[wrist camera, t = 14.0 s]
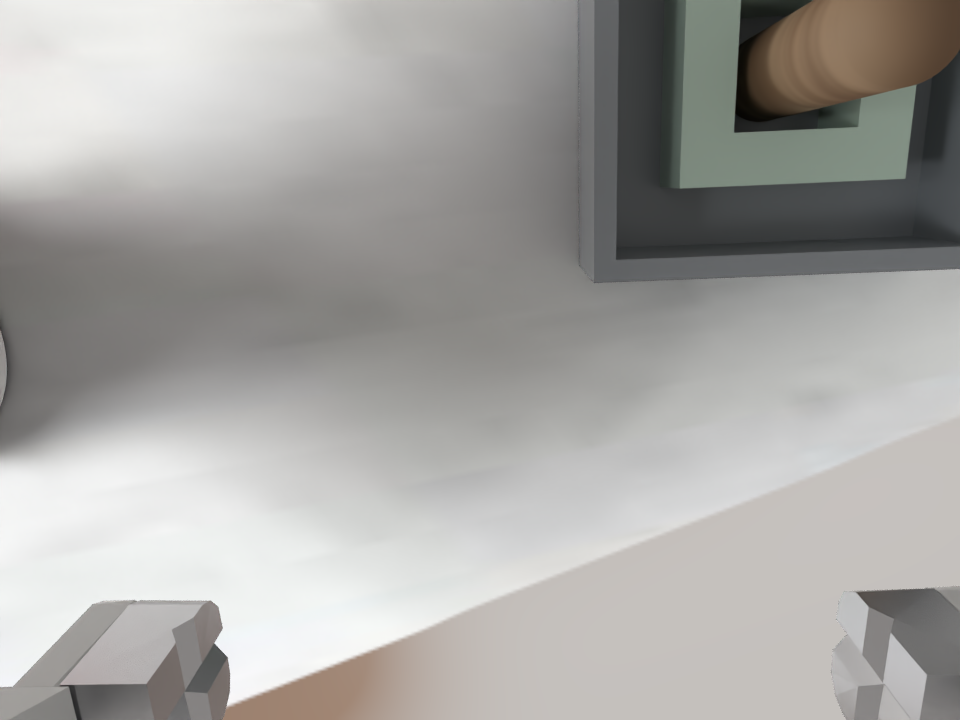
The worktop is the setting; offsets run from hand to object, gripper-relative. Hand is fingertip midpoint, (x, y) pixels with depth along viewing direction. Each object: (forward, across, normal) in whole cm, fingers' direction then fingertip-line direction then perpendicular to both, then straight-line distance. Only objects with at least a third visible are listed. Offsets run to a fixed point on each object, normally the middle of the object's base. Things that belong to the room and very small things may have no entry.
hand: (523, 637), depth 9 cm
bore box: (+29, -13, -10) cm, 33 cm away
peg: (+28, -13, -10) cm, 32 cm away
